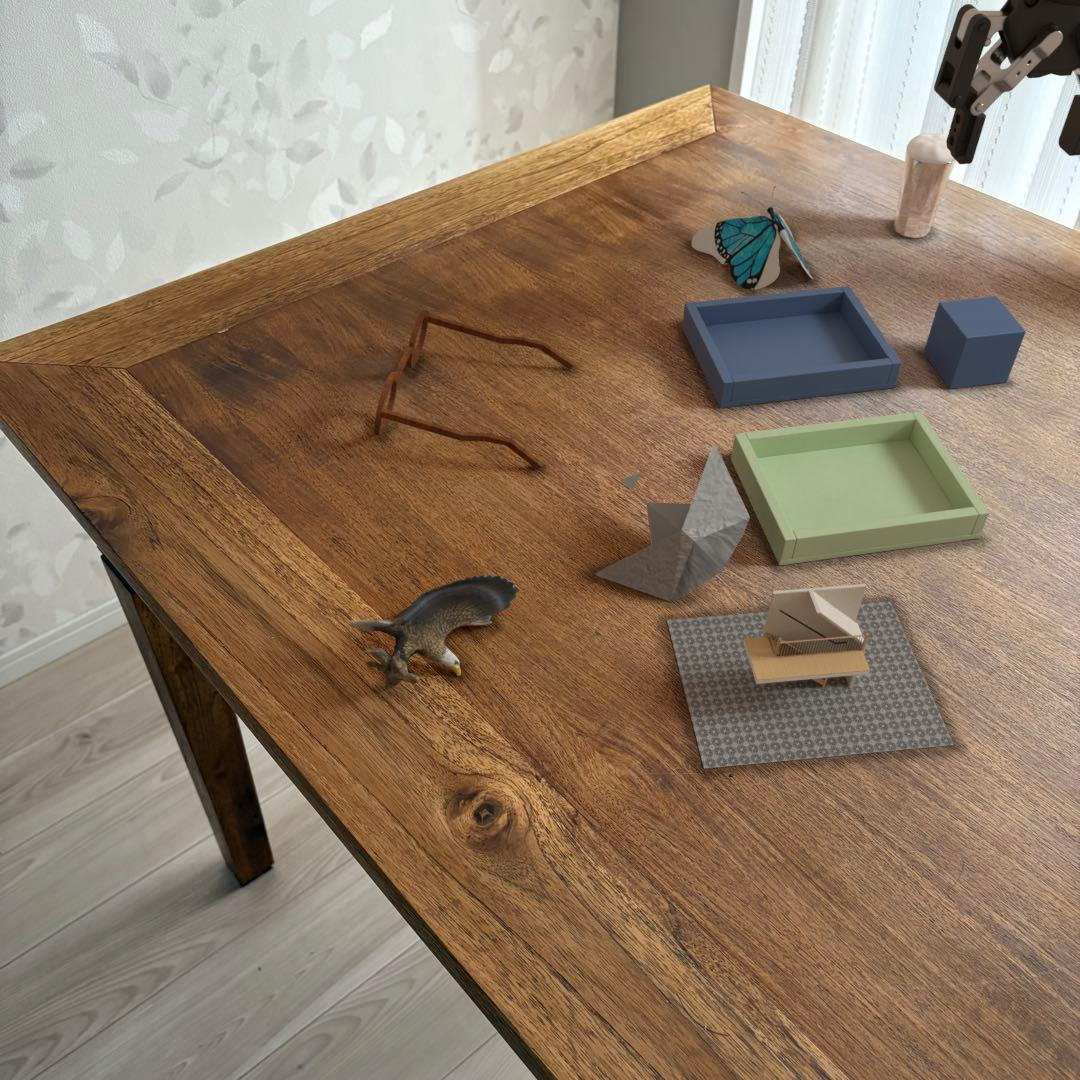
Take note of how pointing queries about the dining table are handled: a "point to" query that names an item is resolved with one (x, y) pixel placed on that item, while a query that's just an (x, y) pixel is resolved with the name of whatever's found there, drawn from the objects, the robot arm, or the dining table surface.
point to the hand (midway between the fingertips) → (1014, 155)
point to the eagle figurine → (437, 623)
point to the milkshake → (922, 184)
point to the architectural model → (804, 680)
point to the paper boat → (685, 537)
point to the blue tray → (789, 346)
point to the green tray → (855, 487)
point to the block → (973, 342)
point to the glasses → (411, 362)
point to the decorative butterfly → (749, 247)
